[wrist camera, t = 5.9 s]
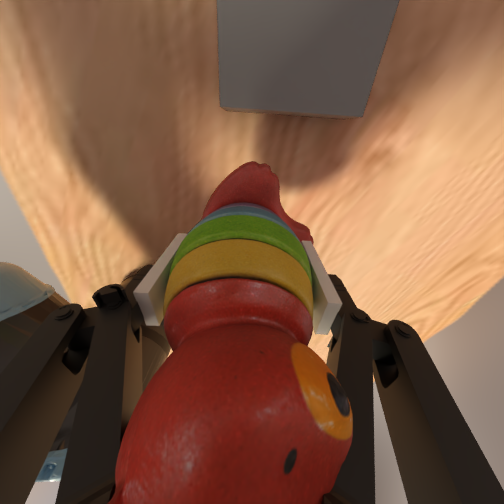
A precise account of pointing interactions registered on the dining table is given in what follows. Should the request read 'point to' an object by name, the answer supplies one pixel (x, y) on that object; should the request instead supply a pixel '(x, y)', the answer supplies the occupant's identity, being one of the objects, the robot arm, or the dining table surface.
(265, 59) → the grey block
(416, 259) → the dining table surface
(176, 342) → the stacking bear
